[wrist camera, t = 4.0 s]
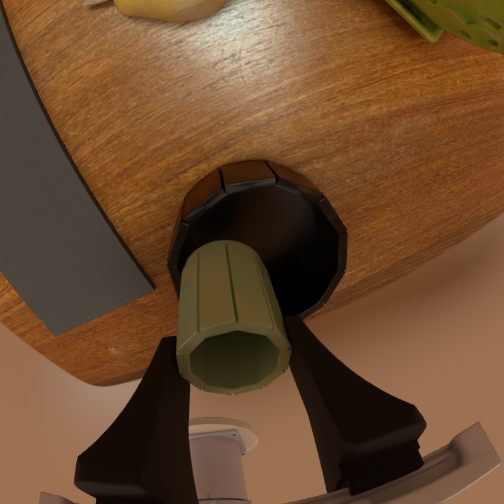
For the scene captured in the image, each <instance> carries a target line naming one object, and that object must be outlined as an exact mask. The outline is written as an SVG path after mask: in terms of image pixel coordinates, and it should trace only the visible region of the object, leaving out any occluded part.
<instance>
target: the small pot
mask: <svg viewBox="0 0 504 504" xmlns="http://www.w3.org/2000/svg"><path fill="white" fill-rule="evenodd" d="M291 353H292V345H291V341H290V339H289V336H288V333H287V330H286V327H285V324H284V321H283V317H282V314H281V311H280V308H279V305H278V302H277V299H276V296H275V293H274V290H273V287H272V284H271V281H270V278H269V275H268V272H267V269H266V267H265V266H264V264H263V262H262V260H261V258H260V256H259V255H258V254H257V253H256V252H255V251H254V250H253V249H252V248H250V247H249V246H247V245H245V244H243V243H240V242H237V241H231V240H219V241H214V242H210V243H207V244H205V245H203V246H201V247H200V248H198V249H197V250H196V251H194V252H193V253H192V254H191V256H190V257H189V258H188V260H187V261H186V263H185V266H184V269H183V272H182V276H181V287H180V299H179V312H178V326H177V343H176V357H177V364H178V371H179V374H181V377H183V378H184V379H185V380H187V381H188V382H190V383H191V384H192V385H194V386H195V387H197V388H198V389H200V390H202V389H203V391H206V392H213V393H221V394H228V395H231V394H232V393H234V394H235V395H236V394H240V393H245V392H248V391H253V390H257V389H261V388H262V387H263V386H267V385H269V384H270V383H271V382H273V381H274V380H275V379H277V378H278V377H279V376H281V375H282V374H283V373H284V372H285V369H288V365H289V361H290V357H291Z"/></svg>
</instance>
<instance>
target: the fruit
mask: <svg viewBox="0 0 504 504" xmlns="http://www.w3.org/2000/svg"><path fill="white" fill-rule="evenodd" d="M105 1H108V0H85V1H84V2H83V7H87V6H92V5H96V4H99V3H102V2H105ZM226 1H227V0H113V2H114V4H115V6H116V8H117V9H118V11H119V12H120V13H121V14H123V15H127V16H137V17H147V18H152V19H158V20H164V21H169V22H186V21H192V20H197V19H200V18H203V17H206V16H208V15H210V14H212V13H214V12H215V11H217V10H219V9H220V8H221V7H222V6H224V4H225V3H226Z"/></svg>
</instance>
